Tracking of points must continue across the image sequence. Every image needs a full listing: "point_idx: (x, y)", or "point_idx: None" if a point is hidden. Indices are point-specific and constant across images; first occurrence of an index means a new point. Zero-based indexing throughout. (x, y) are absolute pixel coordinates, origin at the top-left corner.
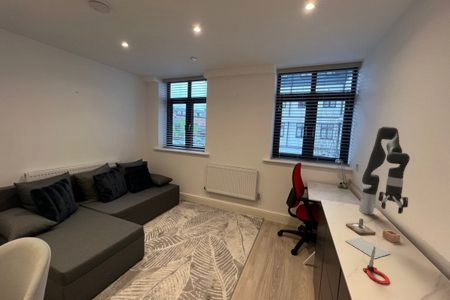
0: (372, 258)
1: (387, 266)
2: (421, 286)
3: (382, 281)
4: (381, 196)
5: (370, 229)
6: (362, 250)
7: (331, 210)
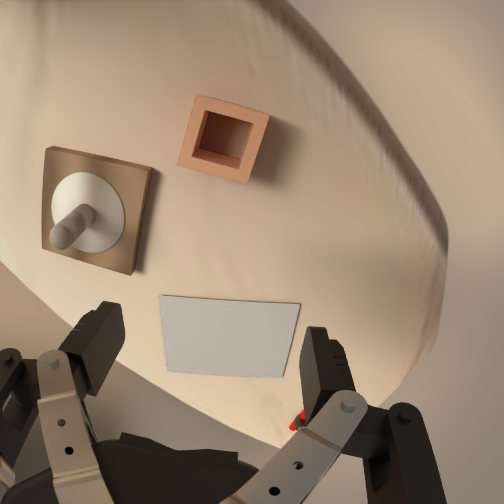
0: None
1: None
2: (396, 367)
3: None
4: (14, 449)
5: (115, 169)
6: (236, 373)
7: None
